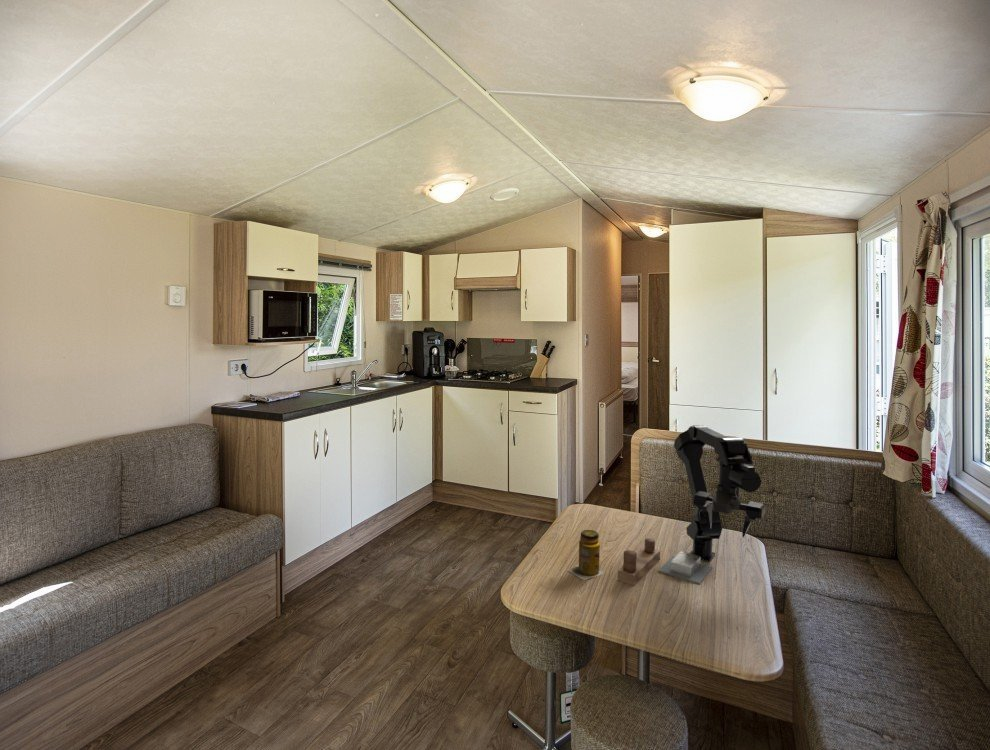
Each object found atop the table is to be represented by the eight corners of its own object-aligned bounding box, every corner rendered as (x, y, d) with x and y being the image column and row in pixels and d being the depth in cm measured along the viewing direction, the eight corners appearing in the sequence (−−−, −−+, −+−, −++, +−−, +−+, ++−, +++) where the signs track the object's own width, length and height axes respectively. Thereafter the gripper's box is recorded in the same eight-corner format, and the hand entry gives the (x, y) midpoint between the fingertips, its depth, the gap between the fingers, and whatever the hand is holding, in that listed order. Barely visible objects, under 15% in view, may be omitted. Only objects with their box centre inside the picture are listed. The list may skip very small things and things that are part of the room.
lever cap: (680, 560, 164) (680, 551, 164) (700, 565, 160) (700, 556, 160) (670, 571, 157) (670, 561, 156) (690, 577, 153) (691, 567, 153)
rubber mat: (672, 557, 167) (672, 555, 167) (712, 568, 160) (712, 567, 160) (658, 572, 158) (658, 570, 157) (699, 584, 150) (699, 582, 150)
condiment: (605, 573, 157) (606, 534, 156) (584, 581, 152) (585, 541, 151) (588, 563, 163) (589, 526, 162) (567, 570, 158) (567, 532, 157)
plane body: (644, 555, 168) (645, 531, 167) (660, 559, 165) (660, 535, 164) (617, 580, 153) (618, 553, 152) (634, 585, 150) (634, 558, 149)
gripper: (687, 481, 152) (685, 533, 154) (758, 495, 140) (755, 551, 142) (699, 472, 160) (696, 521, 162) (767, 484, 149) (764, 537, 151)
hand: (726, 532), depth 154 cm, fingers open, 9 cm apart
